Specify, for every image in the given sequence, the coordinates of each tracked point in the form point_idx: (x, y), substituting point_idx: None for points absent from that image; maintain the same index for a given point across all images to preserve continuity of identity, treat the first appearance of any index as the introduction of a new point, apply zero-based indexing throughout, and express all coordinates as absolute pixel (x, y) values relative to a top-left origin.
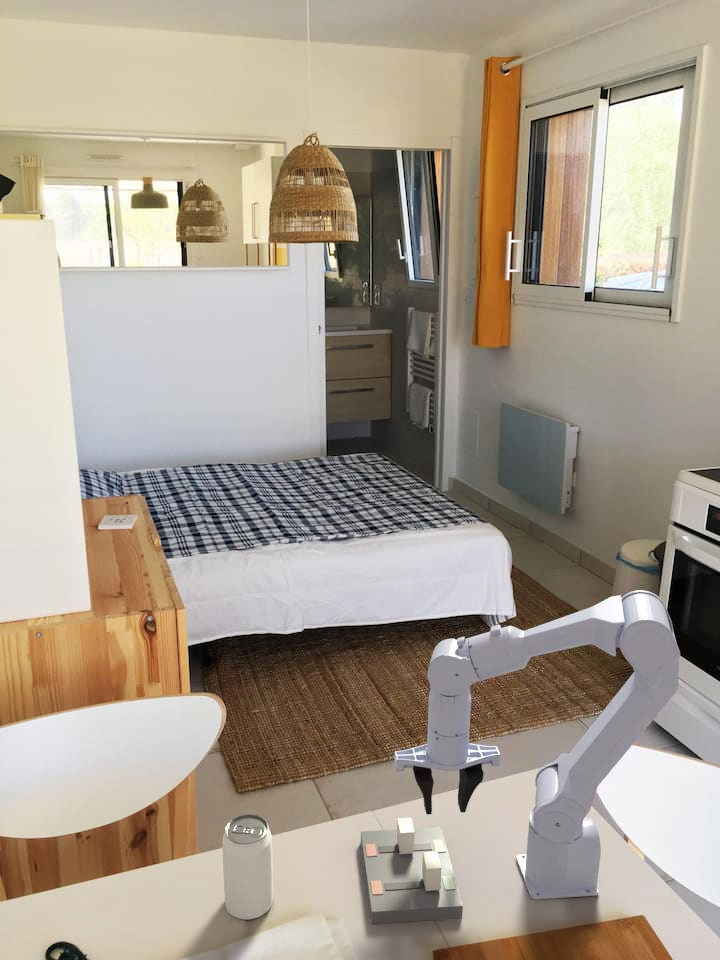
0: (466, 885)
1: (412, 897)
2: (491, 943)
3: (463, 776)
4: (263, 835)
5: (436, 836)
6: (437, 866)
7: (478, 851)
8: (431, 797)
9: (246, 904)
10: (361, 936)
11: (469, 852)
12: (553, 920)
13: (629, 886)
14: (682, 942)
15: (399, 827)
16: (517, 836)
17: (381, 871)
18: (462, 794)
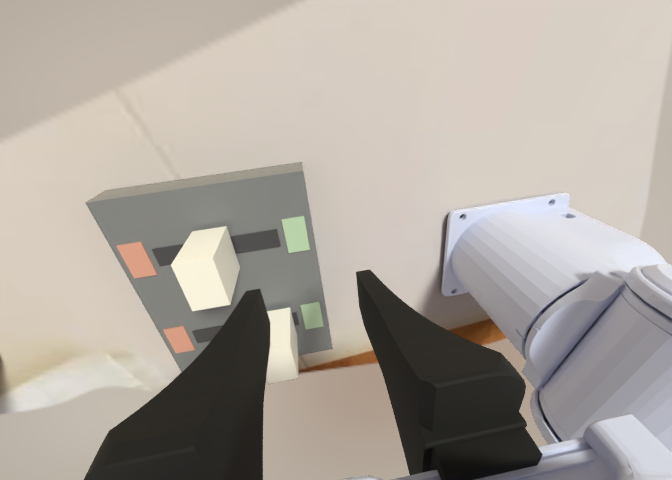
0: (343, 276)
1: None
2: (364, 356)
3: (403, 420)
4: None
5: (290, 204)
6: (290, 376)
7: (380, 196)
8: (263, 399)
9: None
10: (181, 372)
11: (361, 200)
12: (456, 317)
13: None
14: None
15: (185, 296)
16: (473, 146)
17: (179, 306)
18: (377, 347)
